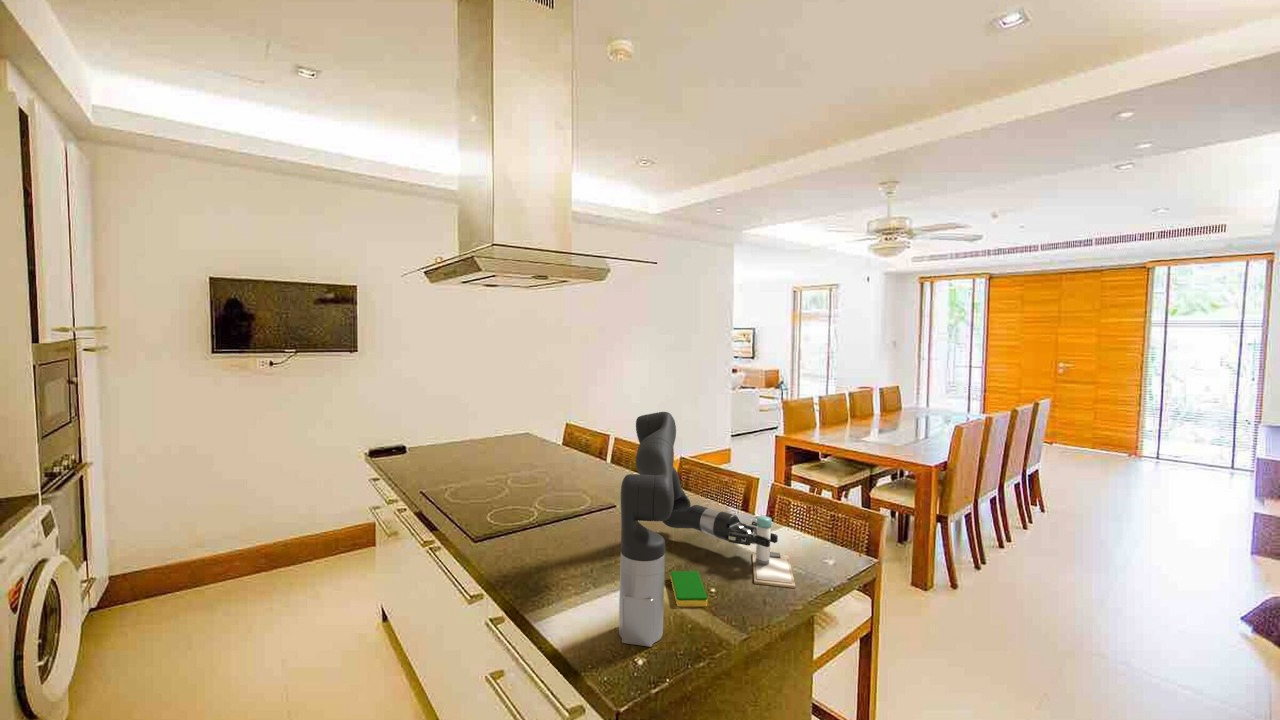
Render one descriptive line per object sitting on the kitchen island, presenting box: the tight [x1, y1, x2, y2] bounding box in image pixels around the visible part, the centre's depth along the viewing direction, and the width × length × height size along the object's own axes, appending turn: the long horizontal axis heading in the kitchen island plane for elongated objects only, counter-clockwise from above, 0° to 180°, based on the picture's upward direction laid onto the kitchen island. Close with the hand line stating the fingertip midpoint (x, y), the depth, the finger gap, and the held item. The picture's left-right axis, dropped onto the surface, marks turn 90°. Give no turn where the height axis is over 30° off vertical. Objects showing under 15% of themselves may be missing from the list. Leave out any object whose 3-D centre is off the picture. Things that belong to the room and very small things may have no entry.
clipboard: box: [752, 551, 796, 589], centre depth 140 cm, size 18×10×1 cm, turn 169°
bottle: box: [755, 515, 772, 565], centre depth 142 cm, size 4×4×12 cm
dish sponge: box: [670, 570, 708, 607], centre depth 127 cm, size 7×14×2 cm, turn 3°
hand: (772, 541), depth 141 cm, fingers closed on bottle, 3 cm apart
